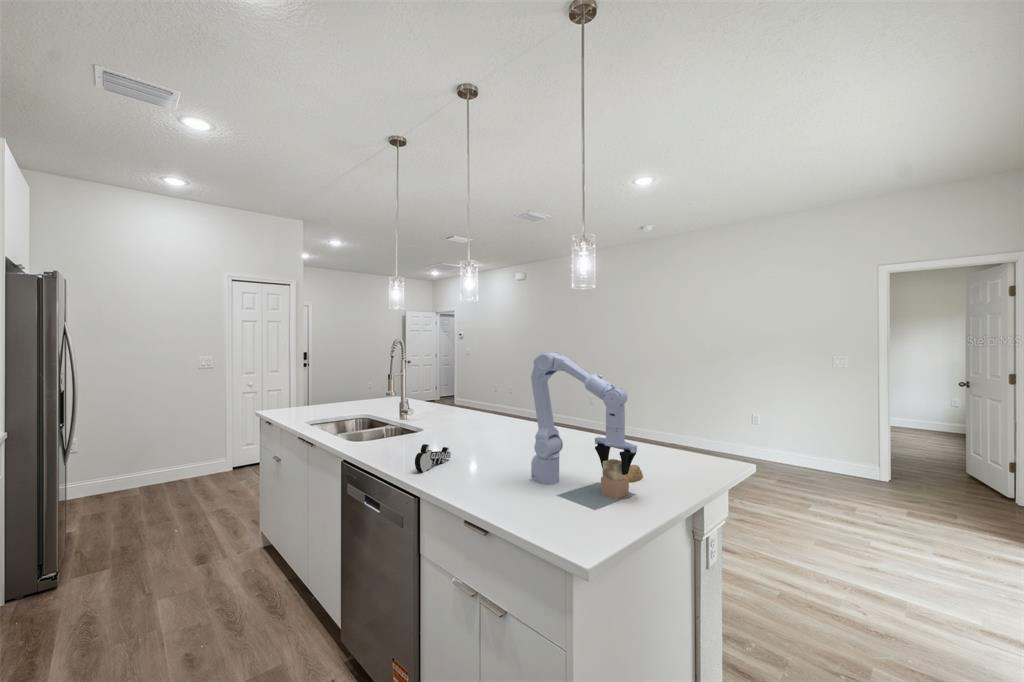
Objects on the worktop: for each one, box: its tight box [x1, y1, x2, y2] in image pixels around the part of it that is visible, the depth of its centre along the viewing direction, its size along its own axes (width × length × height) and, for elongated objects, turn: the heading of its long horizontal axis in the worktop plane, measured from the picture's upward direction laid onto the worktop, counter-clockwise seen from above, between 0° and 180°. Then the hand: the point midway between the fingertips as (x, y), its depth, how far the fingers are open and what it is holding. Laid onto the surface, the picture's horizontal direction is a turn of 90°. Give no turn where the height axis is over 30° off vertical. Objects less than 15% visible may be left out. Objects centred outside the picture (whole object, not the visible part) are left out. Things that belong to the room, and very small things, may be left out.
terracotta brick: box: [600, 476, 630, 499], centre depth 134 cm, size 6×6×5 cm
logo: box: [414, 443, 452, 473], centre depth 165 cm, size 21×2×10 cm, turn 157°
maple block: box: [602, 458, 626, 481], centre depth 134 cm, size 5×5×5 cm
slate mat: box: [556, 481, 637, 511], centre depth 133 cm, size 15×20×1 cm
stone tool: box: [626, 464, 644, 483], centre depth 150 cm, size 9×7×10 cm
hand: (614, 471), depth 134 cm, fingers open, 7 cm apart
